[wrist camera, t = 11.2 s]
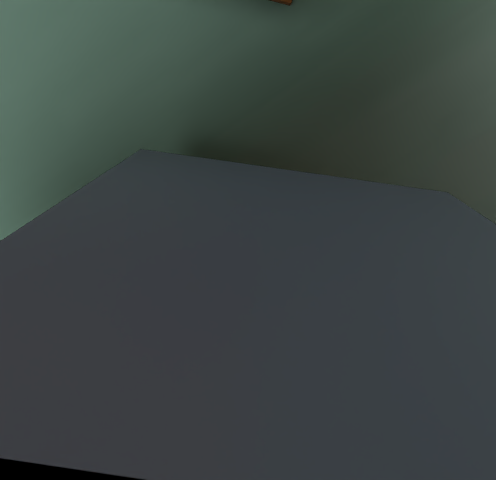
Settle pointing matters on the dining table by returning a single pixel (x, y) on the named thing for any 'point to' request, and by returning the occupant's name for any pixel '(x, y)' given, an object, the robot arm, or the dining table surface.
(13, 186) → the dining table surface
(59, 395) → the slate grey cube
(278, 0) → the diary
